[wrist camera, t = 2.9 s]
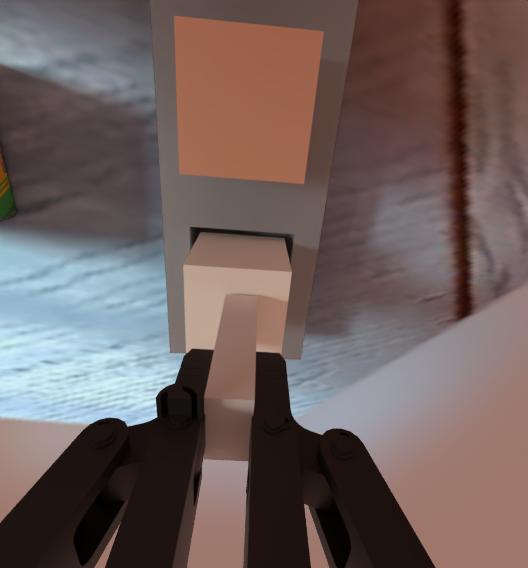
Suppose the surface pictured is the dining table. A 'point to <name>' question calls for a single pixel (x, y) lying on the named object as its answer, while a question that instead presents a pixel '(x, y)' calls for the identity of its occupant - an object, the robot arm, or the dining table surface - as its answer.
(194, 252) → the ivory key
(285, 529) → the robot arm
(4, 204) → the chalk box
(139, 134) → the dining table surface
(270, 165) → the terracotta key
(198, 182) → the grey socket board
